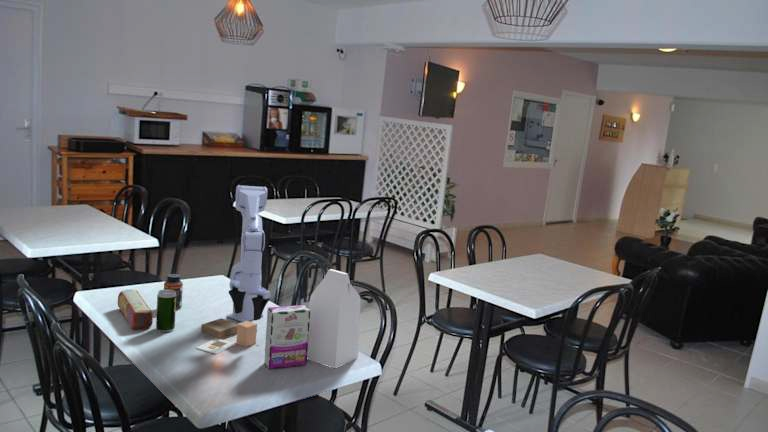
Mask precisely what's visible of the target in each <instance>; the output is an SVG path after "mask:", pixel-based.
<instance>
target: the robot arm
mask: <svg viewBox="0 0 768 432" xmlns="http://www.w3.org/2000/svg"><path fill="white" fill-rule="evenodd" d="M267 201H268V188H267V187H266V186H254V185H251V186H250V185H240V184H238V185H237V186H236V188H235V205H234V206H235V210H236V211H238V212H240V214H241V216H242V226H241V238H240V261H239V262H237V263H235V265H233V266H232V268H231V273H230V281H229V288H230V290H228V294H229V296H230V299H231V300H232V303H233V305H232V313H229V314H227V315H226V317H228V318H230V319H233V320H236V321H239V322H240V323H242V322H245V321H249V322H251V321H252V320H254V321H260V320H261V318H262V317H264V314H263V312H264V311H265V310H264V309H265V308H266V306H267V304H268V302H269V301H270V299H271V291H269V290H267V289H266V288H264V287H263V286H262V280H263V279H262V275H263V274H262V258H263V252H264V250H265V244H266V241H265V240H266V236H265V235H266V234H265V231H264V230H263V219H262V217H261V216H260V215H259V213H262V212H264V210H265V209H266V206H267Z"/></svg>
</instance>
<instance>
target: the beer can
mask: <svg viewBox="0 0 768 432" xmlns="http://www.w3.org/2000/svg"><path fill="white" fill-rule="evenodd" d="M156 297H157V298H156V315H155V316H156V319H155V320H156V321H155V328H156V330H157V332H159V333H170V332H172V331H174V329H175V326H176V293H175V291H174V290H170V289H164V288H163V289H160V290H158V292H157V296H156Z"/></svg>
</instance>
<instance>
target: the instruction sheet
mask: <svg viewBox="0 0 768 432" xmlns="http://www.w3.org/2000/svg"><path fill="white" fill-rule="evenodd" d="M236 344H237V343H236V342H232V341H228V340H225V339H218V338H212V339H211V340H209V341H207V342H205V343H203V344H200V345H199V346H197V347H196V348H195V349H197V350H201V351H204V352H206V353H211V354H214V355H218V354H220V353H222V352H223V351H225V350H228V349H229V348H231V347H233V346H235V345H236Z"/></svg>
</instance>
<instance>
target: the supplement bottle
mask: <svg viewBox="0 0 768 432" xmlns="http://www.w3.org/2000/svg"><path fill="white" fill-rule="evenodd" d="M166 277H167V278H166V279H167V280H165V282H164V283H163V290H164V289H170V290H174V291H175V293H176V310H180V309H181V308H182V305H183V285H184V284H183V282H182V280H181V275H180V274H179V273H178V274H177V273H170V274H167V276H166ZM176 310H175V311H176Z"/></svg>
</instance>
